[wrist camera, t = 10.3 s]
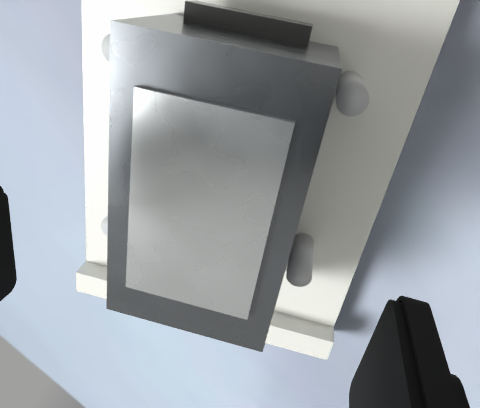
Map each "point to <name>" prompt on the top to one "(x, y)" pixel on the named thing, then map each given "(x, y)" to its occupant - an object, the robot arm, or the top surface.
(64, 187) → the top surface
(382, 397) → the robot arm
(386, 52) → the tray
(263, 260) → the block
